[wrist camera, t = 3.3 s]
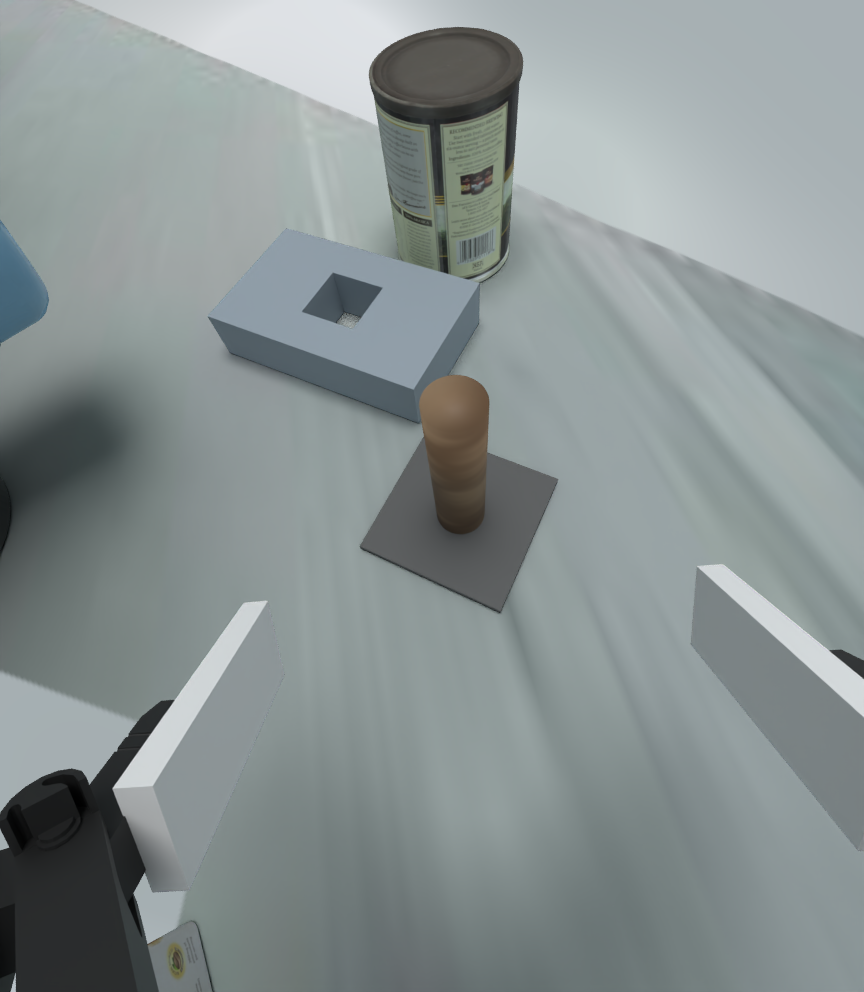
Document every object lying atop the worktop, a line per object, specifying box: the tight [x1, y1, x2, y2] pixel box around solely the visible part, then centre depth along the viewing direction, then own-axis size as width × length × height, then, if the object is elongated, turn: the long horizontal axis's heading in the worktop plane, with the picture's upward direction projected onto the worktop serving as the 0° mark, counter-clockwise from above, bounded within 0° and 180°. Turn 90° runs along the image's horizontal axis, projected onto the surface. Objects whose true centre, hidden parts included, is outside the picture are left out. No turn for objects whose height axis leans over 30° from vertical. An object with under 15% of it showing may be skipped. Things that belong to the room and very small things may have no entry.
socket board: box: [208, 228, 480, 423], centre depth 40 cm, size 18×11×4 cm, turn 64°
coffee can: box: [369, 27, 523, 283], centre depth 39 cm, size 10×10×14 cm
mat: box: [360, 437, 558, 612], centre depth 34 cm, size 10×10×1 cm
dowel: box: [419, 375, 489, 534], centre depth 28 cm, size 3×3×12 cm
